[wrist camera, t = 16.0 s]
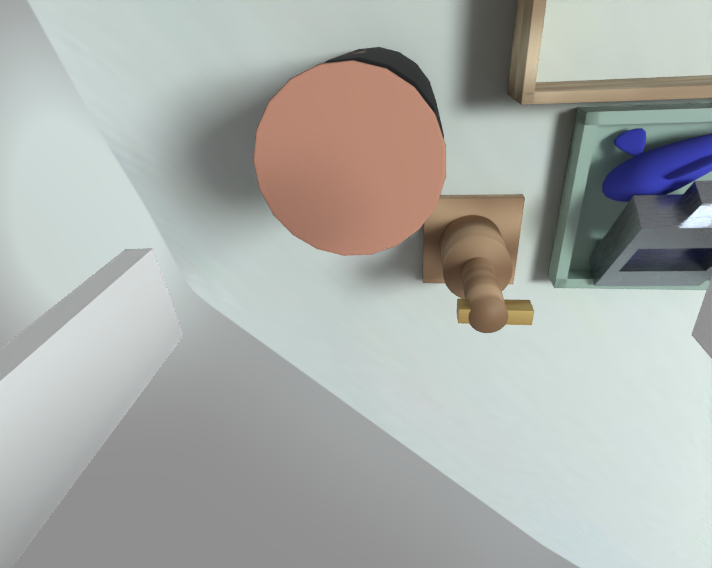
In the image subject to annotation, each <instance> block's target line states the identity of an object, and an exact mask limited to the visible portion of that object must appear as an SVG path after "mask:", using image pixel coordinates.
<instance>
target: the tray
mask: <svg viewBox="0 0 712 568" xmlns="http://www.w3.org/2000/svg"><path fill="white" fill-rule="evenodd" d="M635 128H643V129H644V130H645V131H646V142H645V147H644V151H643V153H644V152H647V151H649V150H652V149H655V148H658V147H661V146H665V145H668V144H671V143H675V142H679V141H682V140H686V139H690V138H694V137H698V136H702V135H707V134H711V133H712V103H689V104H660V105H631V106H602V107H577V113H576V119H575V125H574V130H573V136H572V142H571V147H570V153H569V159H568V164H567V170H566V176H565V181H564V187H563V193H562V198H561V204H560V210H559V216H558V221H557V227H556V233H555V238H554V244H553V250H552V255H551V261H550V267H549V272H548V277H549V279H550V280H551V282H552V284H553V286H554V288H599V289H666V290H707V288H708V285H709V282H710V279H711V277H710V278H709V279H708V280H706V281H705V282H704V283H702V284H701V285H700V286H594V282H593V277H592V271H591V266H590V261H589V257H590V256H591V254H592V253H593V252H594V250H595V249H596V247H597V246H598V245H599V243H600V242H601V240H602V239H603V238H604V236H605V235H606V233H607V232H608V231H609V229H610V228H611V226H612V225H613V224H614V222H615V221H616V219H617V218H618V217H619V215H620V214H621V212H622V211H623V210H624V208H625V207H626V205H627V204H628V202H620V201H614V200H612V199H610V198H607V197H606V196H605V194H604V193H603V192H602V184H603V181H604V180H605V178H606V176H607V175H608V174H609V173H610V172H611V171H612V170H613V169H614V168H616V167H617V166H619V165H620V164H622V163H624V162H625V161H627V160H629V159H631V158H633V157H635V156H633V155H630V154H628V153H626V152H624V151H623V150H621V149H619V148H618V147H617V146H616V145H615V144H614V140H615V139H616V138H617V137H618V136H619V135H620V134H622V133H624V132H626V131H629V130H632V129H635ZM706 180H712V171H711V172H709V173H707V174H706V175H704V176H702V177H700V178H699V179H697V180H695V181H706ZM693 182H694V181H693ZM693 182H691V183H690V184H688V185H686V186H684V187H682V188H680V189H678V190H676V191H674V192H671V193H669V194H667V195H672V194H684V193H685V191H686V190H687V189H688V188H689V187H690V186H691V185H692V183H693Z"/></svg>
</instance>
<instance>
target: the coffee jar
mask: <svg viewBox="0 0 712 568" xmlns="http://www.w3.org/2000/svg"><path fill="white" fill-rule="evenodd" d="M254 165H255V169H256V174H257V179H258V184H259V189H260V191H261V193H262V195H263V196H264V198H265V200H266V202H267V204H268V206H269V208H270V209H271V211H272V213H273V215H274V216H275V217H276V218H277V219H278V220H279V221H280V222H281V223H282V224H283V225H284V226H285V227H286V228H287V229H288V230H289V231H290V232H291V233H292V234H293V235H294V236H296V237H297V238H299V239H301V240H303V241H304V242H306V243H308V244H310V245H311V246H313V247H315V248H316V249H319V250H323V251H327V252H331V253H335V254H339V255H344V256H346V255H371V254H374V253H377V252H380V251H383V250H386V249H388V248H391V247H394V246H397V245H398V244H400V243H401V242H402V241H404V240H405V239H407V238H408V237H409V236H411V235H412V234H413V233H415V232H416V231H417V230H419V229H420V228H421V226H422V225H423V224H424V222H425V221H426V220H427V218H428V217H429V215H430V214H431V213H432V211H433V210H434V209H435V207H436V206H437V203H438V200H439V197H440V194H441V191H442V188H443V184H444V181H445V178H446V145H445V142H444V134H443V130H442V125H441V121H440V116H439V112H438V108H437V103H436V100H435V97H434V94H433V91H432V88H431V85H430V82H429V80H428V78H427V77H426V76H425V74H424V73H423V72H422V70H421V69H420V68H419V66H418V65H417V64H416V63H415V62H413V61H412V60H410V59H409V58H407V57H406V56H404V55H403V54H401V53H400V52H397V51H393V50H389V49H385V48H381V47H375V48H366V49H358V50H355V51H353V52H350V53H347V54H344V55H342V56H339V57H336V58H334V59H331V60H328V61H326V62H324V63H322V64H319V65H317V66H315V67H313V68H311V69H309V70H307V71H305V72H303V73H301V74H299V75H297V76H295V77H293V78H291V79H290V80H289V81H288V82H287V83H286V84H285V85H284V86H283V87H282V88H281V89H280V90H279V91H278V92H277V94H276V95H275V96H274V97H273V98H272V99H271V100H270V101H269V103H268V105H267V107H266V110H265V112H264V114H263V116H262V119H261V121H260V123H259V125H258V127H257V130H256V140H255V151H254Z"/></svg>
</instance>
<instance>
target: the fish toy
mask: <svg viewBox="0 0 712 568" xmlns="http://www.w3.org/2000/svg"><path fill="white" fill-rule="evenodd" d="M645 142H646V131H645V130H644V129H643V128H635V129H632V130H629V131H626V132H624V133H622V134H620V135H619V136H618V137H617V138H616V139H615V140H614V144H615V145H616V146H617V147H618V148H619V149H621V150H623V151H624V152H626V153H628V154H630V155H633V156H635V157H633V158H631V159H629V160H627V161H625V162H624V163H622V164H620V165H619V166H617V167H616V168H614V169H613V170H612V171H611V172H610V173H609V174H608V175H607V176H606V178H605V180H604V181H603V184H602V192H603V193H604V194H605V196H606V197H607V198H610V199H612V200H614V201H620V202H629V201H630V200H631V198H632V197H633V196H636V195H667V194H669V193H671V192H674V191H676V190H678V189H680V188H682V187H684V186H686V185H688V184H690V183H691V182H693V181H695V180H697V179H699V178H700V177H702V176H704V175H706V174H707V173H709V172H711V171H712V133H711V134H707V135H702V136H698V137H694V138H690V139H686V140H682V141H679V142H675V143H671V144H668V145H665V146H661V147H658V148H655V149H652V150H649V151H647V152H644V153H643V151H644V147H645Z"/></svg>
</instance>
